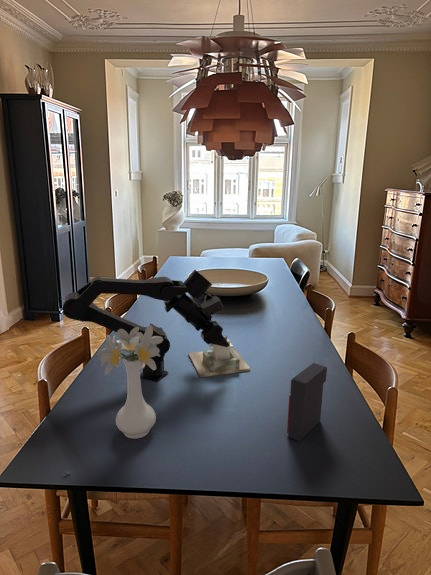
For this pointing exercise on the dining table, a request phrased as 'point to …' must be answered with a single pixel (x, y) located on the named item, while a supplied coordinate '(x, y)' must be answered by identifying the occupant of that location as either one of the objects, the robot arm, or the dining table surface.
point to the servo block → (221, 351)
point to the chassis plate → (217, 363)
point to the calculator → (305, 401)
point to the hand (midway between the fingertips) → (223, 340)
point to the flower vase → (133, 377)
